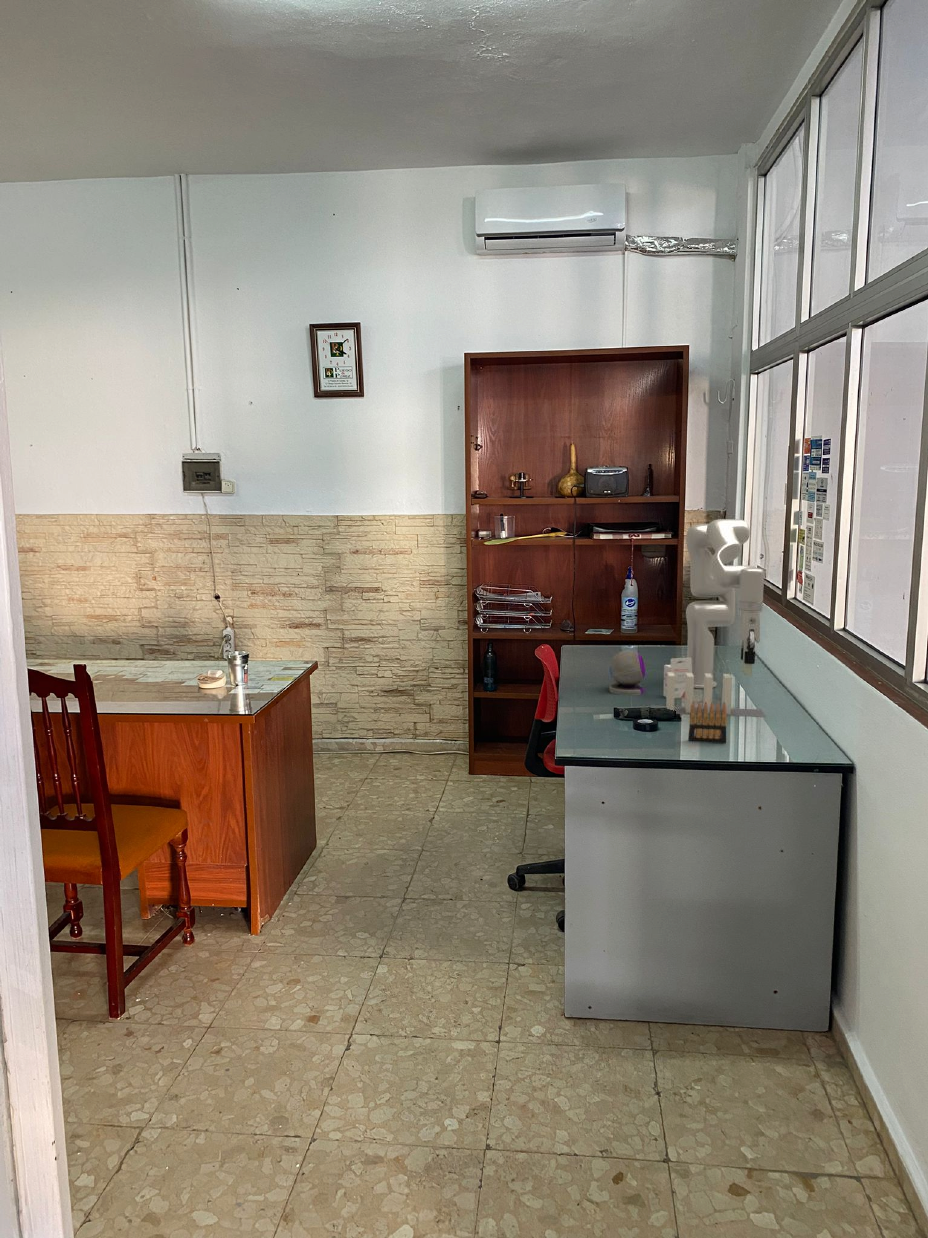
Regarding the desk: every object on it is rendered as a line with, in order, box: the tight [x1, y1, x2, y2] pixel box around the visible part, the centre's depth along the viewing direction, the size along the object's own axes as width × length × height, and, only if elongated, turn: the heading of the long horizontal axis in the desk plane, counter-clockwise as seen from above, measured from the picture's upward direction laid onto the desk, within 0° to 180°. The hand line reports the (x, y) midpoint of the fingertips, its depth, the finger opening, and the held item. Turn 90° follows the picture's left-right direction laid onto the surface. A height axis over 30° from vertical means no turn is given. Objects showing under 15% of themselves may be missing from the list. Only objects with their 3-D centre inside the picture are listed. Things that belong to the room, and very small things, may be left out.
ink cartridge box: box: [662, 657, 692, 699], centre depth 318 cm, size 9×5×15 cm, turn 105°
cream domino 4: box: [721, 673, 733, 714], centre depth 297 cm, size 2×6×12 cm, turn 172°
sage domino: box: [742, 640, 753, 677], centre depth 294 cm, size 2×6×12 cm, turn 172°
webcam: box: [608, 649, 647, 696], centre depth 328 cm, size 13×13×15 cm
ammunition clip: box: [688, 700, 728, 744], centre depth 265 cm, size 11×2×12 cm, turn 80°
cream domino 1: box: [665, 672, 675, 711], centre depth 299 cm, size 2×6×12 cm, turn 172°
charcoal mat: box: [650, 705, 767, 718], centre depth 299 cm, size 10×36×1 cm, turn 82°
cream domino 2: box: [684, 673, 695, 713], centre depth 298 cm, size 2×6×12 cm, turn 172°
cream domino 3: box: [702, 673, 714, 713], centre depth 298 cm, size 2×6×12 cm, turn 172°
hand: (747, 661), depth 294 cm, fingers closed on sage domino, 5 cm apart
